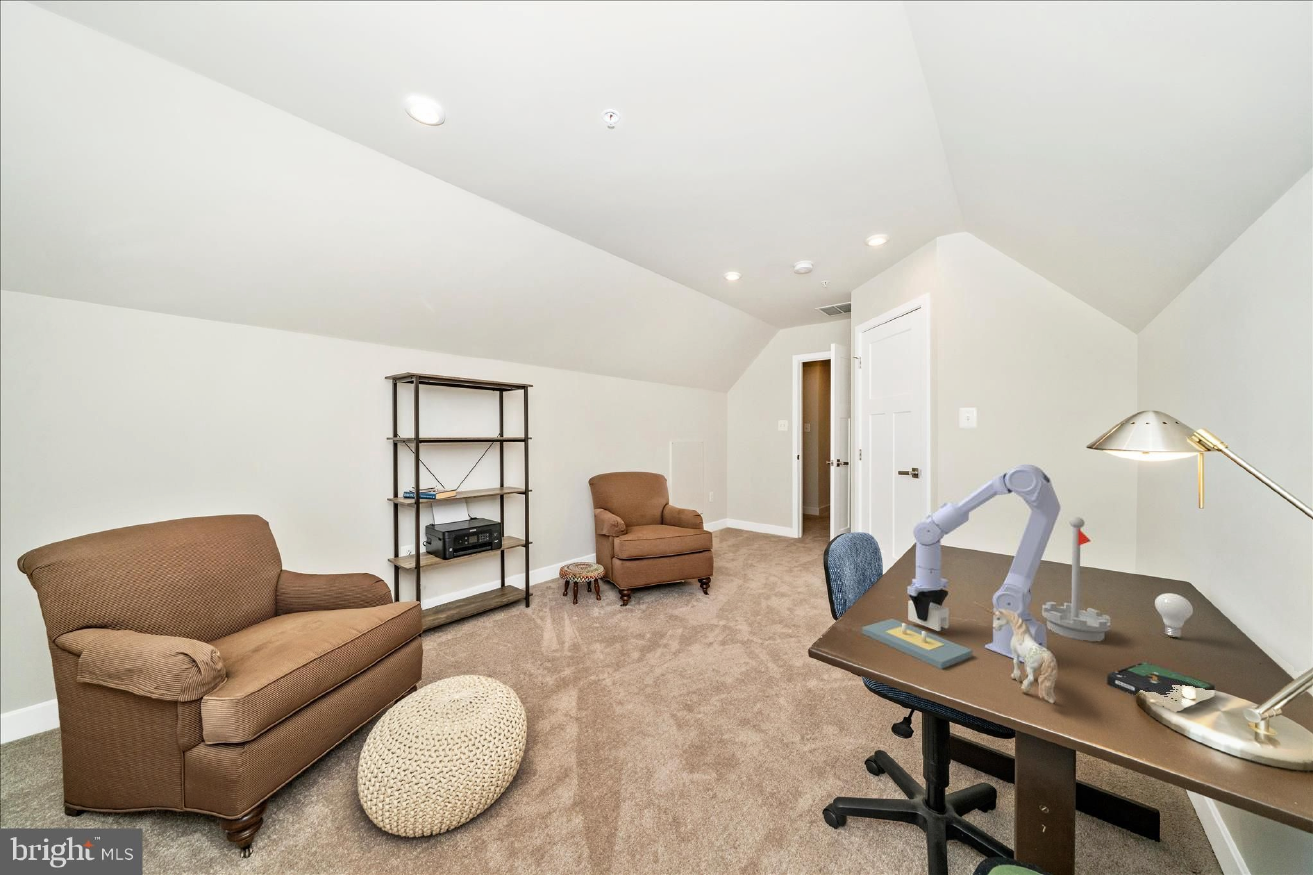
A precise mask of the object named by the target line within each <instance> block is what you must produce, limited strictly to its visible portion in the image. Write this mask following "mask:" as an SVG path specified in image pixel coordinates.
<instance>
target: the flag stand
mask: <svg viewBox="0 0 1313 875" xmlns="http://www.w3.org/2000/svg"><path fill="white" fill-rule="evenodd" d="M1068 523H1069V525H1070V526H1071V527H1072V542H1071V544H1072V549H1071V550H1072V552H1071V555H1072V556H1071V558H1072V559H1071V603H1067V602H1063V606H1058V603H1056V602H1054V601H1049V602H1045V604H1042V608H1041V609H1042V610H1041V614H1042V615H1041V616H1042V617H1044V619H1046V628H1047V629H1049V630H1050V629H1051V630H1052V632H1053V631H1054V633H1056V634H1057V633H1058V635H1061V636H1063V637H1066V636H1067V637H1066V638H1070V639H1073V638H1075V639H1074V640H1078V641H1083V640H1090V641H1089V642H1093V641H1098V640H1103V639H1104V640H1105V632H1107V631H1110V630H1111V617H1110V616H1109V615H1106V614H1102V615H1101V611H1100V610H1096V609H1094V608H1092V607H1088V608H1087V609H1086V610H1082V609H1080V597H1081V596H1080V593H1081V591H1080V590H1081V588H1080V585H1081V582H1080V581H1081V578H1080V577H1081V546H1082V545H1084V544H1088V543H1090V542H1092V540H1091V539H1090V538H1089V537H1087V535H1086V534H1085V533H1084V532H1083V531H1082V528H1083V527H1084V526H1085V523H1086V522H1085V520H1084V519H1083V518H1082V517H1079V516H1072V517H1070V519H1069V522H1068ZM1051 630H1050V631H1051ZM1104 640H1103V641H1104ZM1098 642H1099V641H1098Z"/></svg>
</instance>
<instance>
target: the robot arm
mask: <svg viewBox="0 0 1313 875" xmlns="http://www.w3.org/2000/svg"><path fill="white" fill-rule="evenodd" d="M1012 493H1014V494H1016V495H1018V496H1019V497H1020V498H1021V499H1023V501H1024V502H1025V504H1026V505H1027V506H1028V508H1030V515H1029V517H1028V519H1027V523H1026V525H1025V527H1024V531H1023V533H1022V535H1021V539H1020V542H1019V544H1018V547H1017V549H1016V552H1015V555H1014V557H1013V560H1012V563H1011V566H1010V568H1009V570H1008V573H1007V575H1006V578H1005V580H1004V582H1003V583H1002V584H1001V585H1000V587H999V589H998V590H997V591H996V592H995V593H994V594H993V597H992V603H993V604H992V605H993V606H994V607H993V610H992V611H994V612H997V611H998V610H997V609H999V608H1000V609H1005V610H1009V611H1012V612H1015V613H1016V614H1017V615H1018V616H1019V617H1020V618H1021V619H1022V620H1023V621H1025V622H1026V624H1027V625H1028V627H1029V629H1030V632H1031V633H1032V635H1033V637H1034V639H1033V640H1034V641H1035V642H1036V643H1037V644H1038V645H1040V646H1041V647H1044V648H1046V649H1047V638H1048V637H1047V634H1048V631H1047V626H1046V625H1045V624H1044V623H1043V622H1040V621H1039V620H1036V619H1035V618H1034V617H1033V614H1032V613H1031V611H1030V610H1029V608H1028V607H1029V606H1030V604H1031V603H1032V601H1033V595H1032V586H1033V584H1034V580H1035V576H1036V574H1037V571H1038V569H1039V566H1040V564H1041V561H1042V558H1043V556H1044V553H1045V551H1046V549H1047V548H1046V547H1048V546H1047V545H1048V543H1049V542H1050V541H1049V540H1050V538H1051V535H1052V533H1053V530H1054V527H1055V525H1056V522H1057V519H1058V517H1059V514H1060V512H1061V504H1060V500H1059V499H1058V497H1057V494H1056V492H1055V489H1054V487H1053V483H1052V480H1051V478H1050V477H1049V476H1048V475H1047V474H1046V473H1045V472H1044V471H1043V470H1042V469H1041V468H1040V467H1038V466H1036V465H1033V464H1021V465H1018V466H1016V467H1013V468H1011V469H1010V470H1008V472H1004V473H1002V474H1000V475H998V476H996V477H994V478H992V479H990V480H988V481H987V482H986V483H984V484H983V485H981V486H980V487H979V488H978V489H976V490H975V491H973V492H972V493H971V494H969V495H968V496H966V497H965V498H964V499H963V500H961V501H960V502H953V501H952V502H951V501H950V502H948V503H946V502H944V503H942V504H941V505H940V508H939V509H938V510H937V511H935V512H934V513H933V514H931V515H930V514H928V515H926V516H925V519H926V520H924V521H920V522H918V523H917V524H916V525H915V526H914V527H913V531H912V534H913V537H914V539H915V543H916V544H915V546H916V547H915V578H912V579H911V582H912V583H911V585H908V586H907V588H906V589H907V594H908V597H909V598H910V600H912V602H913V604H914V607H915V610H916V614H917V618H918V619H920V620H922V621H927V618H928V611H929V606H930V603H934V604H937V605H940V606H943V603H944V601H945V600H946V598H947V597H948V595H949V591H948V590H947V589H943V588H948V587H949V580H948V579H944V578H942V549H941V544H942V542H941V540H943V539H944V536H946V535H949V534H950V533H951V532H953V531H955V530H956V529H957V528H959V527H960V526H962V525H964V524H965V523H967V522H969V519H970V518H969V516H970V513H971V512H973V511H974V510H976V509H977V508H979V507H981V506H983V505H984V504H985V503H987V502H989V501H990V500H991V499H993V498H995V497H997V496H1000V495H1009V494H1012ZM992 616H993V622H994V620H995V615H993V614H992ZM993 622H992V623H993ZM1001 629H1002V630H1001V631H995V630H994V628H993V627H992V642H989V643H988V644H985V645H984V649H985V648H986V649H988V650H991V651H993V652H995V653H998V654H1000V655H1003V656H1005V657H1009V658H1011V659H1013V660H1014V656H1013V653H1012V649H1011V640H1012V637H1013V636H1014V632H1013V629H1012V627H1011V626H1010V625H1009V624H1008V625H1005V626H1003V627H1002V628H1001ZM1019 661H1020V663H1021V662H1022V663H1024V659H1023V658H1022V657H1021V656H1020V657H1019Z"/></svg>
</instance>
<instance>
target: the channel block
mask: <svg viewBox="0 0 1313 875" xmlns="http://www.w3.org/2000/svg"><path fill="white" fill-rule="evenodd" d="M907 602H908V603H907V604H908V606H907V608H908V609H907V616H908V617H907V619H908V621H911V622H914V623H916V624H918V625H921V626H923V627H927V628H930V629H932V630H935V631H937V632H940V631H941V628H944V629H948V628H949V624H950V623H949V617H950V616H949V609H950V608H948V607H946V606H943V605H942V606H940V605H937V604H934V603H930V606H929V611H928V618H927V621H922V620H920V619H918V618H917V614H916V610H915V607H914V604H913V602H912V600H911V599H910V600H908V601H907Z"/></svg>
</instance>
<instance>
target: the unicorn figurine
mask: <svg viewBox="0 0 1313 875" xmlns="http://www.w3.org/2000/svg"><path fill="white" fill-rule="evenodd" d="M973 603H974V604H975V605H976V606H978V607H979V608H981V609H983V610H984V611H986V612H988V613H990V614H992V616H993V615H995V620H994V622H992V629H993V628H994V630H995V631H1001V630H1002V629H1001V628H1002V627H1003V626H1005V625H1008V624H1009V625H1010V626H1011V627H1012V629H1013V632H1014V636H1013V637H1012V640H1011V649H1012V653H1013V656H1014V659H1013V665H1014V669H1013V673H1011V675H1010V676H1009V678H1011V680H1016V682H1020V679H1021V676H1022V672H1021V669H1020V668H1019V667H1020V666H1021V665H1020V664H1021V661H1019V657H1020V656H1021V657H1022V658H1023V659H1024V662H1023V664H1024V665H1023V666H1024V672H1025V676H1026V679H1025V680H1023V681H1022V685H1021V690H1020V691H1021V693H1022V694H1029V693H1030V688H1031V687H1032V684H1031V683H1033V682H1034V681H1035V672H1036V671H1037V670H1038V669H1040V670H1041V673H1040V674H1041V675H1039V677H1038V679H1037V682H1038V696H1039V698H1040V699H1041V700H1042V699H1043V700H1044V701H1046V702H1049V703H1050V704H1053V703H1055V701H1056V696H1055V693H1054V688H1055V684H1056V680H1057V678H1058V670H1059V668H1058V663H1057V660H1056V657H1055V655H1054V654H1053V653H1052V652H1051V651H1050V650H1049V649H1047V647H1046V648H1044V647H1041V646H1040V645H1038V644H1037V643H1036V642H1035V641H1034V640H1033V639H1034V637H1033V635H1032V633H1031V632H1030V629H1029V627H1028V625H1027V624H1026V622H1025V621H1023V620H1022V619H1021V618H1020V617H1019V616H1018V615H1017V614H1016V613H1015V612H1012V611H1009V610H1005V609H1000V608H999V609H997V610H998V611H997V612H994V610H991V609H990V608H988V607H986V606H985V605H982V604H980V603H978V602H975V601H974V602H973Z"/></svg>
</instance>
